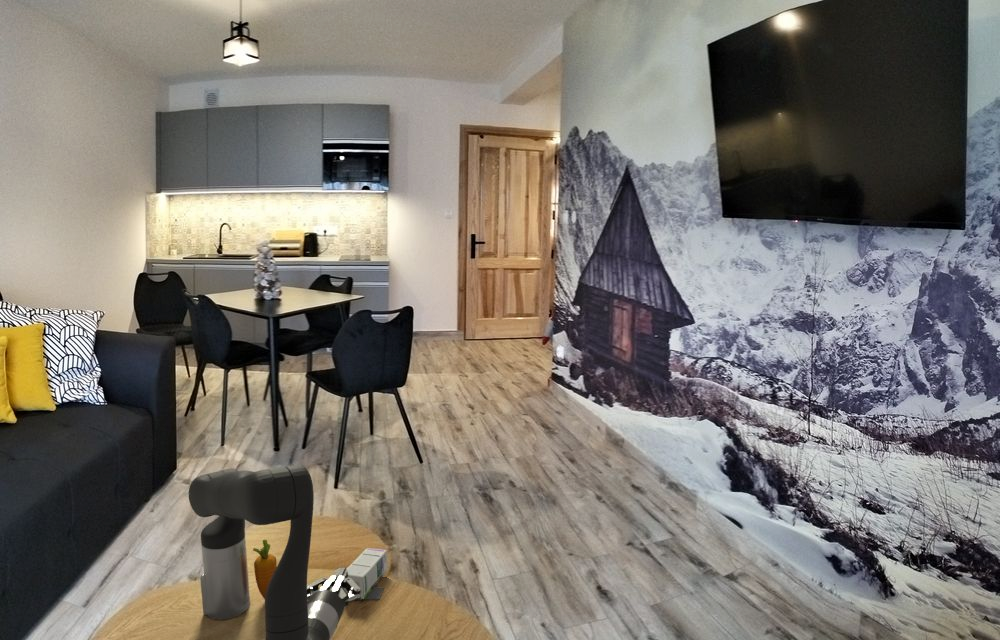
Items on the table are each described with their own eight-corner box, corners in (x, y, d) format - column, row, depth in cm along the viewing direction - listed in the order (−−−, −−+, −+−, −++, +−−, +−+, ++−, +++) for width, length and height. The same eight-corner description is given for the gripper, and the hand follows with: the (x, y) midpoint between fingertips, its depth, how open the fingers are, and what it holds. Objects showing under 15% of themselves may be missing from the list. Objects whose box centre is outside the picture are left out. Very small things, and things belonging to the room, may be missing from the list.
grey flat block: (343, 599, 154) (343, 597, 154) (349, 588, 158) (348, 586, 158) (379, 599, 154) (379, 598, 154) (383, 588, 158) (383, 587, 158)
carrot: (269, 609, 150) (265, 549, 148) (252, 604, 152) (247, 545, 149) (283, 597, 155) (279, 538, 152) (266, 593, 156) (262, 535, 154)
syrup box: (363, 576, 152) (388, 549, 166) (340, 573, 153) (367, 546, 167) (363, 599, 153) (388, 570, 167) (340, 596, 154) (367, 568, 168)
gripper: (351, 602, 126) (371, 555, 144) (284, 601, 127) (312, 555, 144) (353, 637, 128) (372, 586, 145) (286, 636, 128) (314, 585, 145)
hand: (342, 571), depth 144 cm, fingers closed
